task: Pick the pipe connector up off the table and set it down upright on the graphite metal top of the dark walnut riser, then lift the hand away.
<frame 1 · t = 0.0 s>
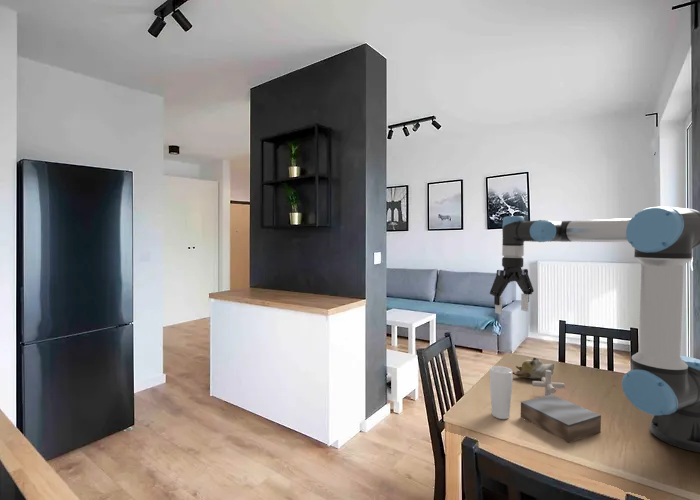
hand: (511, 312, 145), 28 cm above the table, fingers open, 13 cm apart
ceramic sculpture: (533, 378, 152), on the table
riser: (559, 424, 115), on the table
pipe connector: (547, 399, 133), on the table
drinking glass: (500, 416, 120), on the table
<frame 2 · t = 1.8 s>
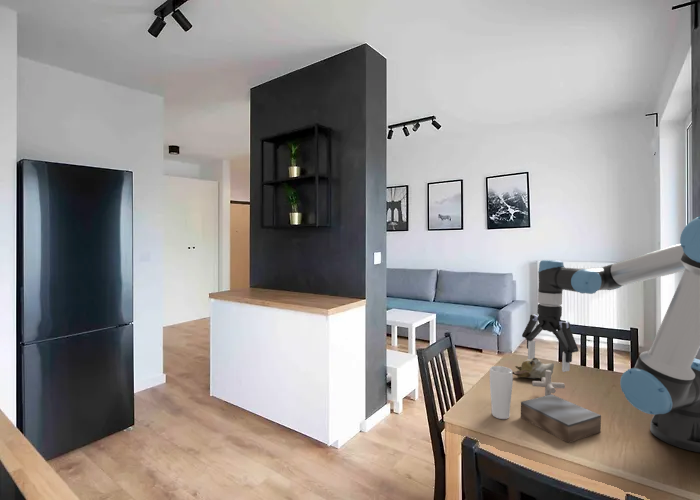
hand: (547, 364, 133), 12 cm above the table, fingers open, 13 cm apart
nothing on the table moved.
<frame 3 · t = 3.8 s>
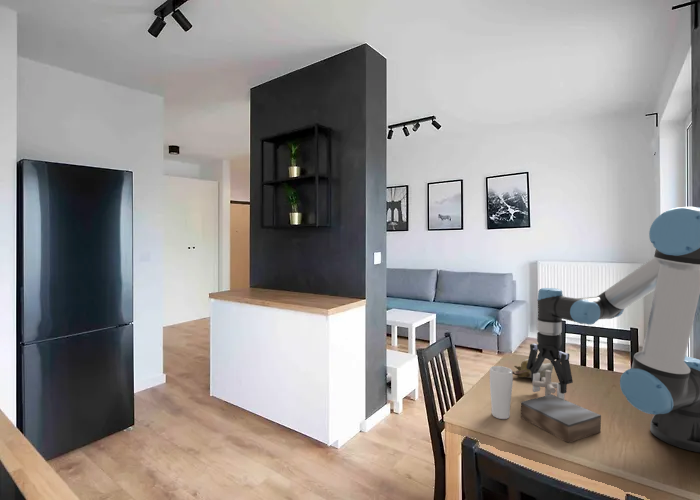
hand: (548, 396, 133), 1 cm above the table, fingers closed on pipe connector, 9 cm apart
pipe connector: (547, 399, 133), on the table, touching gripper
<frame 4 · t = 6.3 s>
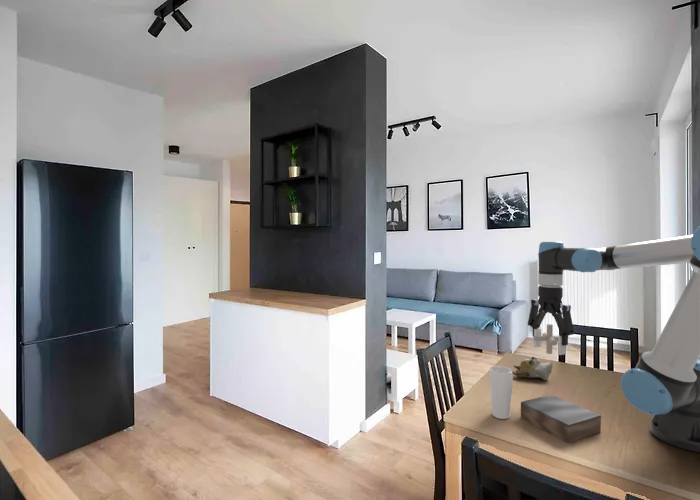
hand: (549, 350, 132), 17 cm above the table, fingers closed on pipe connector, 9 cm apart
pipe connector: (549, 353, 132), point 16 cm above the table, touching gripper
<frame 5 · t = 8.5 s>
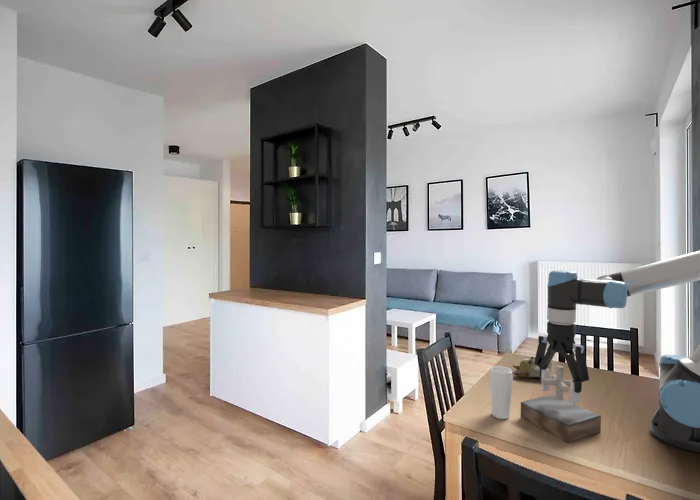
hand: (559, 395, 114), 9 cm above the table, fingers closed on pipe connector, 9 cm apart
pipe connector: (559, 399, 114), point 8 cm above the table, touching gripper
when the fingers open (7 cm above the table, at t = 9.3 s): pipe connector stays where it is, resting on riser.
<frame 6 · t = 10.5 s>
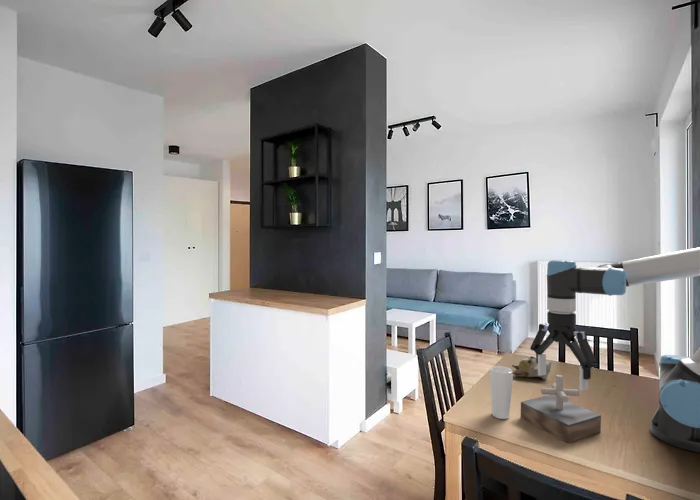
hand: (561, 381, 114), 13 cm above the table, fingers open, 13 cm apart
pipe connector: (559, 409, 114), point 5 cm above the table, touching riser
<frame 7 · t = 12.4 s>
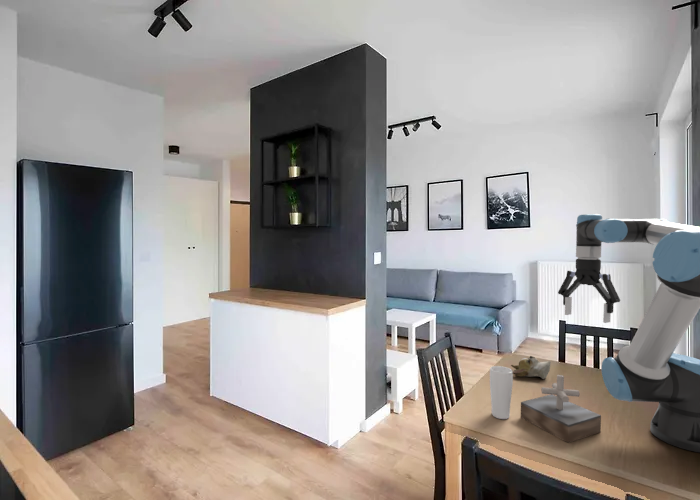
hand: (586, 318, 134), 28 cm above the table, fingers open, 13 cm apart
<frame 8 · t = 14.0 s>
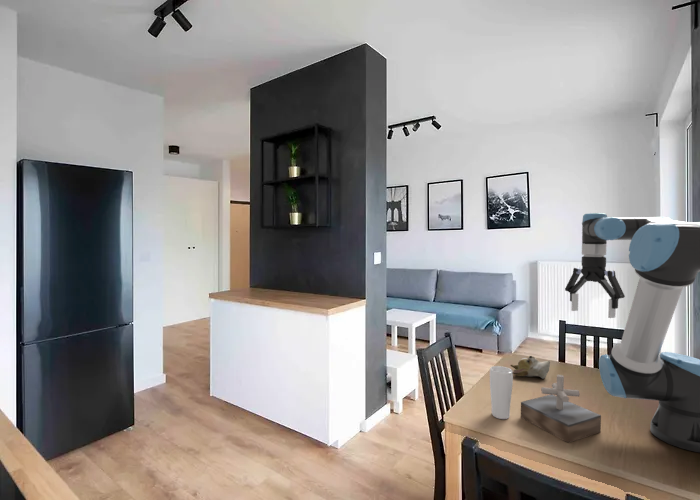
hand: (592, 314, 138), 29 cm above the table, fingers open, 13 cm apart
at the end: pipe connector inside the target area on the riser (0.1 cm from its centre), point 4.8 cm above the riser's base; pipe connector tilted 0°; the gripper is holding nothing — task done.
